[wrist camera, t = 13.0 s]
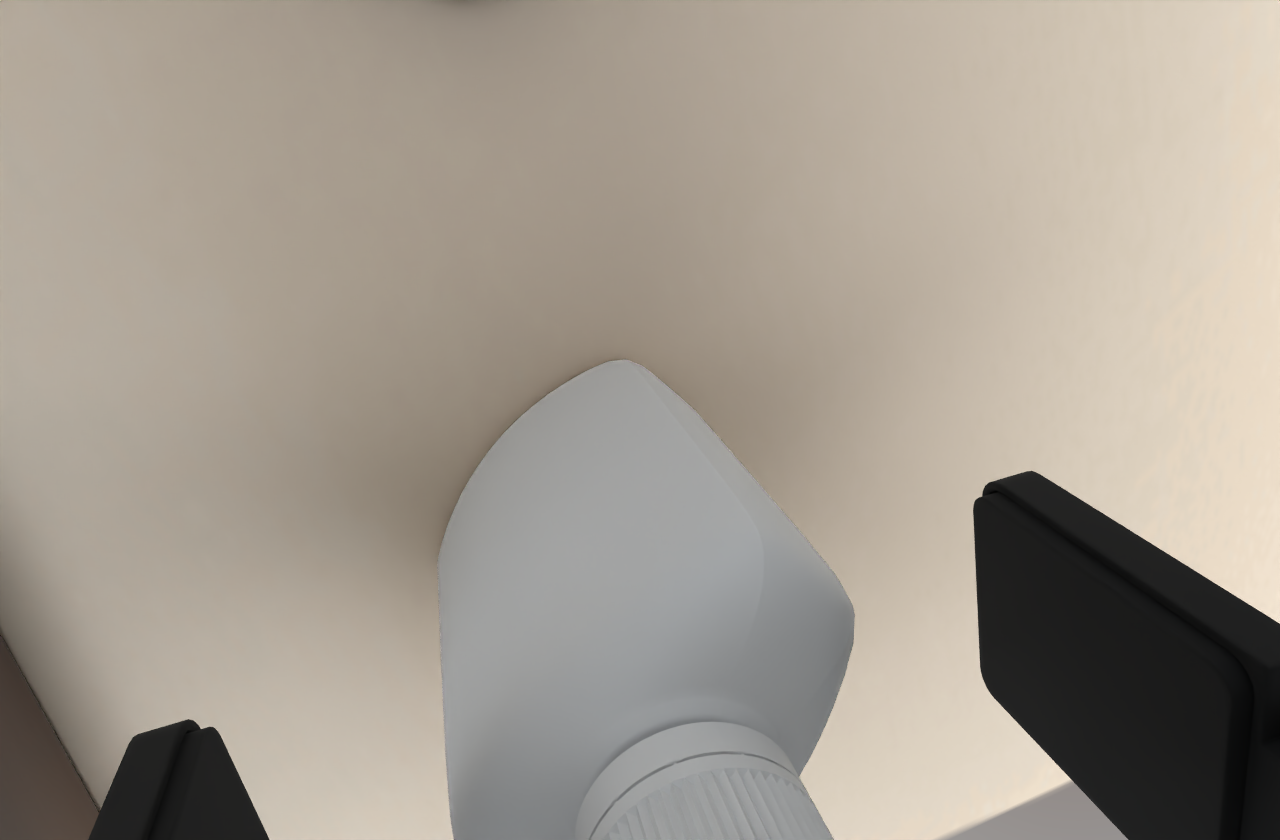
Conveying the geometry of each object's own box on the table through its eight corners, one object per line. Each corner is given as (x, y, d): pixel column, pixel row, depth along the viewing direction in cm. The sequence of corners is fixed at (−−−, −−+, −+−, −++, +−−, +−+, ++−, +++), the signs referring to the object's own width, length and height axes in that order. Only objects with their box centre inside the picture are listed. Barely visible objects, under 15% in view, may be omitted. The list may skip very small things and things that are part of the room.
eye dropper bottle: (728, 524, 18) (1183, 1155, 7) (471, 631, 18) (554, 1479, 7) (665, 331, 17) (1136, 782, 6) (379, 442, 16) (295, 1174, 5)
